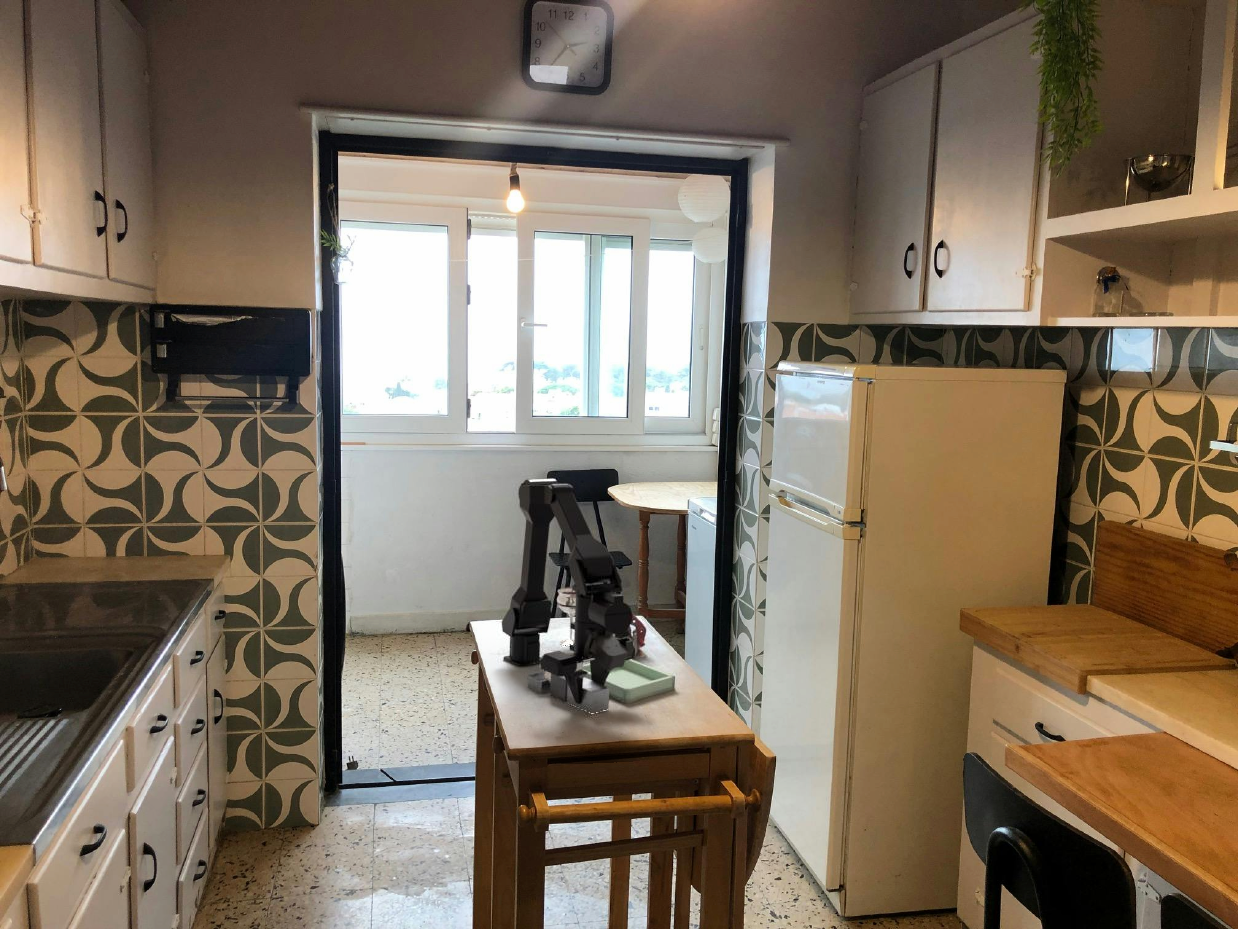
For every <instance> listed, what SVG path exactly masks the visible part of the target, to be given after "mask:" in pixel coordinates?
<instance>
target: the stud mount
mask: <svg viewBox="0 0 1238 929" xmlns="http://www.w3.org/2000/svg"><path fill="white" fill-rule="evenodd" d="M527 688H528V689H530V690H532V691H534V692H537V693H539V694H540V695H542V694H543V695H544V694H546V693H550V688H551V673H549V672H547V671H545V670H543V671H541V672H536V673H533V674H529V675H527Z"/></svg>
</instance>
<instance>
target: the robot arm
mask: <svg viewBox="0 0 1238 929" xmlns="http://www.w3.org/2000/svg"><path fill="white" fill-rule="evenodd" d="M517 496H518V499H519V508H520V510H521V512H522V514H523V516H524V518H525V530H524V540H523V541H524V542H523V543H524V544H523V553H522V563H521V574H520V575H521V576H520V584H519V587H518V588H517V590H516V591H515V593H514V594H513V595H512V597H511V599H510V604H509V605H510V606H509V608H508V611H507V612H506V614H505V615H504V617H503V618H502V620H501V630H502V632H503V633H504V634H505V635H507V636H508V637H509V655H505V656H503V660H505V661H507V662H509V663H511V664H514V665H516V666H517V667H526V666H530V665H536V664H539V663H540V665H539V666H540V669H541V670H542V671H547V672H549V673H551V674H554V675H556V676H561V677H562V676H564V677H565V679H566V681H567V683H568V685H569V688H570V690H571V692H572V695H573V697H574V700H575V702H576V703H577V704H581V700H582V689H583V678H584V677H585V675H586V674H587V673H588V672H587V671H584V670H583V665H584V663H587V662H589V663H590V669H591V680H592V681H594V682H597V683H599V684H601V685H604V684H605V682H606V679H607V677H608V675H609V673H610V671H611V670H613V669H614V668H617V667H623V666H624V663H625V661H626V660H630V659H632V660H634V659H635V658H636V656H635V648H634V646H633V640H632V639H631V638H630V637H624V638H621V639H619V638H613V637H612V635H611V633H613V634H620V633H623V632H624V631H626V630H627V629H628V628H629V626H630V627H631V626H632V625H631V622H632V618H633V614H634V613H633V612H632V609H631V606H629V604H627V603H626V602H624V595H623V594H621V593H622V592H623V586H622V582H623V581H622V579H621V576H620V574H619V571H618V570H617V566H616V563H615V560H614V558H613V556H612V555H611V554H610V552H609V550H608V548H607V547H606V546H605V544H603V543H602V542H600V541H599V540H597V539H596V538H595V537H594V535H593V534H592V531H591V529H590V528H589V525H588V523H587V521H586V518H585V516H584V514H583V511H582V510H581V508H580V506H579V503H578V501H577V500H576V496H575V489H574V487H573V485H571V484H569V483H558V480H556V478H531V479H529V478H528V479H525V480H524V481H523V482H521V483H520V486H519V487H518V494H517ZM554 519H556V521H557V524H558V526H559V529H560V530H561V533H562V535H563V538H564V539H565V540H564V541H565V542H566V544H567V546H568V549H569V552H570V553H569V557H568V561H567V564H568V567H569V571H570V572H569V573H570V576H571V577H572V581H573V582H574V584H573V585H572V586H571V588H572V590H574V591H576V608H575V616H574V621H573V623H570V622H569V629H570V628H571V629H572V630H574V635H573V636H574V637H573V638H574V639H573V640H574V644H570V646H569V649H568V650H569V651H571V652H573V653H572V654H568V653H566V652H564V651H561V650H555V651H551V652H548V653H547V652H546V653H544V654H542V656H541V642H540V640H541V639H540V637H541V634H547V633H548V631H549V628H550V621H551V619H552V600H550V598H549V596H548V595H547V593H546V592H545V578H546V568H547V559H548V546H549V536H550V525H551V523H552V521H553V520H554ZM632 613H633V614H632Z"/></svg>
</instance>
